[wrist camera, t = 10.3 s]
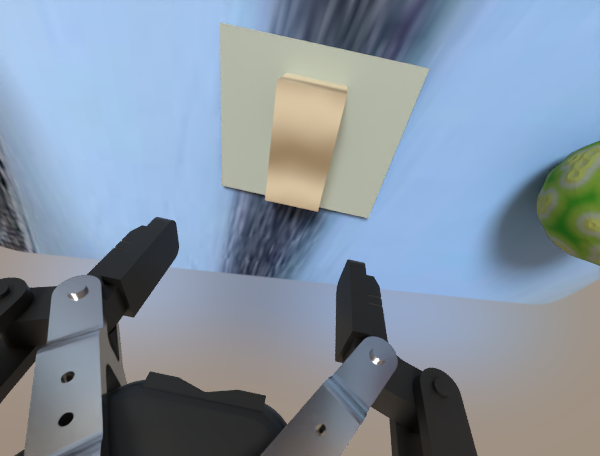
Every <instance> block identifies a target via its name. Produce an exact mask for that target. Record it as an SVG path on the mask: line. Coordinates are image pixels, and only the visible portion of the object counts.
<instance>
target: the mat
mask: <svg viewBox="0 0 600 456" xmlns="http://www.w3.org/2000/svg"><path fill="white" fill-rule="evenodd" d="M220 62H221V162H222V186H227V187H231V188H236V189H240V190H245V191H249V192H253V193H258V194H262V195H266V185H267V175H268V165H269V155H270V145H271V135H272V125H273V115H274V105H275V95H276V85H277V80H278V79H279V78H280V77H282V76H283V75H284V74H285V73H288V74H293V75H298V76H302V77H307V78H312V79H316V80H321V81H326V82H330V83H335V84H340V85H344V86H347V98H346V102H345V106H344V110H343V114H342V118H341V122H340V126H339V130H338V134H337V138H336V142H335V146H334V150H333V154H332V158H331V162H330V166H329V169H328V173H327V177H326V181H325V185H324V189H323V193H322V197H321V201H320V205H319V207H320V208H325V209H329V210H333V211H338V212H342V213H347V214H351V215H356V216H360V217H365V218H368V217H369V215H370V212H371V210H372V208H373V205H374V203H375V200H376V198H377V195H378V193H379V191H380V188H381V186H382V183H383V181H384V178H385V176H386V173H387V171H388V169H389V166H390V164H391V161H392V159H393V156H394V154H395V152H396V149H397V147H398V144H399V142H400V139H401V137H402V134H403V132H404V130H405V127H406V125H407V122H408V120H409V117H410V115H411V113H412V110H413V108H414V105H415V103H416V100H417V98H418V95H419V93H420V91H421V88H422V86H423V83H424V81H425V78H426V76H427V74H428V71H429V69H428V68H425V67H420V66H416V65H411V64H407V63H402V62H398V61H393V60H389V59H384V58H380V57H375V56H371V55H366V54H362V53H357V52H352V51H348V50H343V49H339V48H334V47H330V46H325V45H321V44H316V43H312V42H307V41H303V40H298V39H294V38H289V37H285V36H280V35H276V34H271V33H267V32H262V31H257V30H253V29H248V28H244V27H239V26H235V25H230V24H226V23H220Z"/></svg>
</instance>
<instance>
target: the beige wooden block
mask: <svg viewBox="0 0 600 456" xmlns="http://www.w3.org/2000/svg"><path fill="white" fill-rule="evenodd" d="M346 98H347V86H344V85H340V84H335V83H330V82H326V81H321V80H316V79H312V78H307V77H302V76H298V75H293V74H288V73H285V74H284V75H283V76H282V77H280V78H279V79H278V80H277V85H276V95H275V105H274V115H273V125H272V135H271V145H270V155H269V165H268V175H267V185H266V195H265V200H267V201H271V202H276V203H280V204H285V205H289V206H294V207H298V208H303V209H308V210H312V211H317V212H318V209H319V205H320V201H321V197H322V193H323V189H324V185H325V181H326V177H327V173H328V169H329V166H330V162H331V158H332V154H333V150H334V146H335V142H336V138H337V134H338V130H339V126H340V122H341V118H342V114H343V110H344V106H345V102H346Z"/></svg>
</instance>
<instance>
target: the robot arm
mask: <svg viewBox="0 0 600 456" xmlns="http://www.w3.org/2000/svg"><path fill="white" fill-rule="evenodd" d="M178 250H179V242H178V234H177V227H176V222H175V221H173V220H169V219H164V218H160V217H156V218H154V219H153V220H152V221H151V222H150V223H149V224H148V226H140V227H138V228H136V229H134V230H132V231H131V232H129V233H128V234H127V235H126V236H125V237H124V238H123V239H122V242H121V241H120V242H119V243H118V244H117V245H116V246H115V248H113V249H112V250H111V251H110V252H109V253H108V254H107V255H106V256H105V257H104V258H103V259H102V260H101V261H100V262H99V263H98V264H97V265H96V266H95V267H94V268H93V269H92V270H91V271H90V272H89V273H88V274H87V275H81V276H76V277H73V278H70V279H68V280H66V281H64V282H62V283H61V284H60V285H58V286H54V287H36V288H29V287H28V286H27V284H26V283H25V281H23V280H21V279H19V278H3V279H0V403H1V402H2V401H3V399H4V398H5V397H6V396H7V394H8V393H9V392H10V391H11V389H12V388H13V387H14V386H15V385H16V383H17V382H18V381H19V380H20V379H21V378H22V376H23V375H24V374H25V373H26V372H27V370H28V369H29V368H30V367H31V366H32V364H33V363H34V362H35V369H34V378H33V385H32V393H31V402H30V410H29V418H28V427H27V434H26V442H25V449H24V450H23V451H21V452H20V453H18V454H17V455H15V456H340V455H341V454H342V452H343V451H344V449H345V448H346V446H347V445H348V443H349V442H350V440H351V439H352V437H353V436H354V434H355V433H356V431H357V430H358V428H359V426H360V425H361V424H362V422H363V420H364V419H365V417H366V415H367V412H368V410H369V408H370V407H373V408H374V409H376V410H377V411H379V412H381V413H382V414H384V415H385V416H387V417H389V418H390V432H391V445H392V456H477V452H476V449H475V445H474V441H473V438H472V434H471V430H470V427H469V423H468V420H467V416H466V412H465V409H464V405H463V401H462V397H461V394H460V391H459V389H458V387H457V385H456V383H455V382H454V381H453V380H452V379H451V377H449V376H448V375H447V374H446V373H445V372H443V371H441V370H439V369H436V368H427V369H425V370H424V371H421V370H419V369H417V368H415V367H414V366H412V365H410V364H408V363H406V362H405V361H403V360H401V359H400V358H399V357H398V356H397V355H396V353H395V351H394V349H393V348H392V346H391V345H390V344H389V343H388V340H387V334H386V328H385V321H384V314H383V308H382V300H381V293H380V287H379V285H378V283H377V281H376V280H375V278H374V277H373V276H369V275H366V268H365V263H362V262H358V261H353V260H347V262H346V265H345V267H344V269H343V272H342V274H341V277H340V279H339V282H338V285H337V292H336V347H335V348H336V350H335V352H336V353H335V361H337V362H342V363H343V364H342V365H341V366H340V368H339V369H338V370H337V371H336V372H335V373H334V374H333V375H332V376H331V377H329V378H328V379H327V380H326V381H325V382H324V383H323V384H322V385H321V387H320V388H319V389H318V390H317V391H316V392H315V393H314V395H313V396H312V397H311V398H310V399H309V400H308V401H307V403H306V404H305V405H304V406H303V407H302V408H301V409H300V411H299V412H298V413H297V414H296V415H295V416H294V417H293V419H292V420H291V421H290V422H289V423H288V424H287V423H286V422H285V421H284V420H283V418H282V417H281V416H280V415H279V414H278V413H277V412H276V411H275V410H274V409H272V408H271V407H270V406H268V405H266V404H265V398H266V396H265V395H260V394H255V393H250V392H246V391H241V390H230V391H217V392H204V391H202V390H200V389H198V388H196V387H195V386H193V385H191V384H189V383H187V382H186V381H184V380H182V379H180V378H178V377H174V376H169V375H164V374H159V373H155V372H150V373H149V374H148V376H147V378H146V380H141V381H136V382H132V383H129V384H127V381H126V377H125V373H124V370H123V364H122V354H121V343H120V332H119V324H118V322H119V320H120V319H121V317H122V316H123V315H124V316H130V317H135V315H136V314H137V312H138V311H139V309H140V308H141V306H142V305H143V304H144V302H145V301H146V299H147V298H148V296H149V295H150V294H151V292H152V291H153V289H154V288H155V286H156V285H157V284H158V282H159V281H160V279H161V278H162V277H163V275H164V274H165V272H166V271H167V269H168V268H169V267H170V265H171V264H172V262H173V261H174V259H175V258H176V256H177V254H178Z"/></svg>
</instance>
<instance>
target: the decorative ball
mask: <svg viewBox="0 0 600 456" xmlns="http://www.w3.org/2000/svg"><path fill="white" fill-rule="evenodd" d="M536 207H537V216H538V218H539V220H540V222H541V223H542V225H543V227H544V230H545V232H546V235H547V236H548V237H549V238H550V239H551V240H552V241H553V242H554V243H555V244H556V245H557V246H558V247H560V248H561V249H563V250H564V251H565V252H566V253H568V254H570V255H572V256H574V257H577V258H580V259H583V260H586V261H589V262H591V263H594V264H596V265H599V266H600V141H598V142H595V143H593V144H590V145H588V146H586V147H583V148H581V149H578V150H576V151H574V152H573V153H571V154H570V155H569V156H568V157H566V158H565V159H564V160H563V161H562V162H561V163H560V164H559V165H558V166H557V167H555V168H554V169H553V170H552V171H551V172H550V173H549V174H548V176H547V178H546V180H545V182H544V184H543V187H542V189H541V191H540V193H539V195H538V199H537V206H536Z"/></svg>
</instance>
